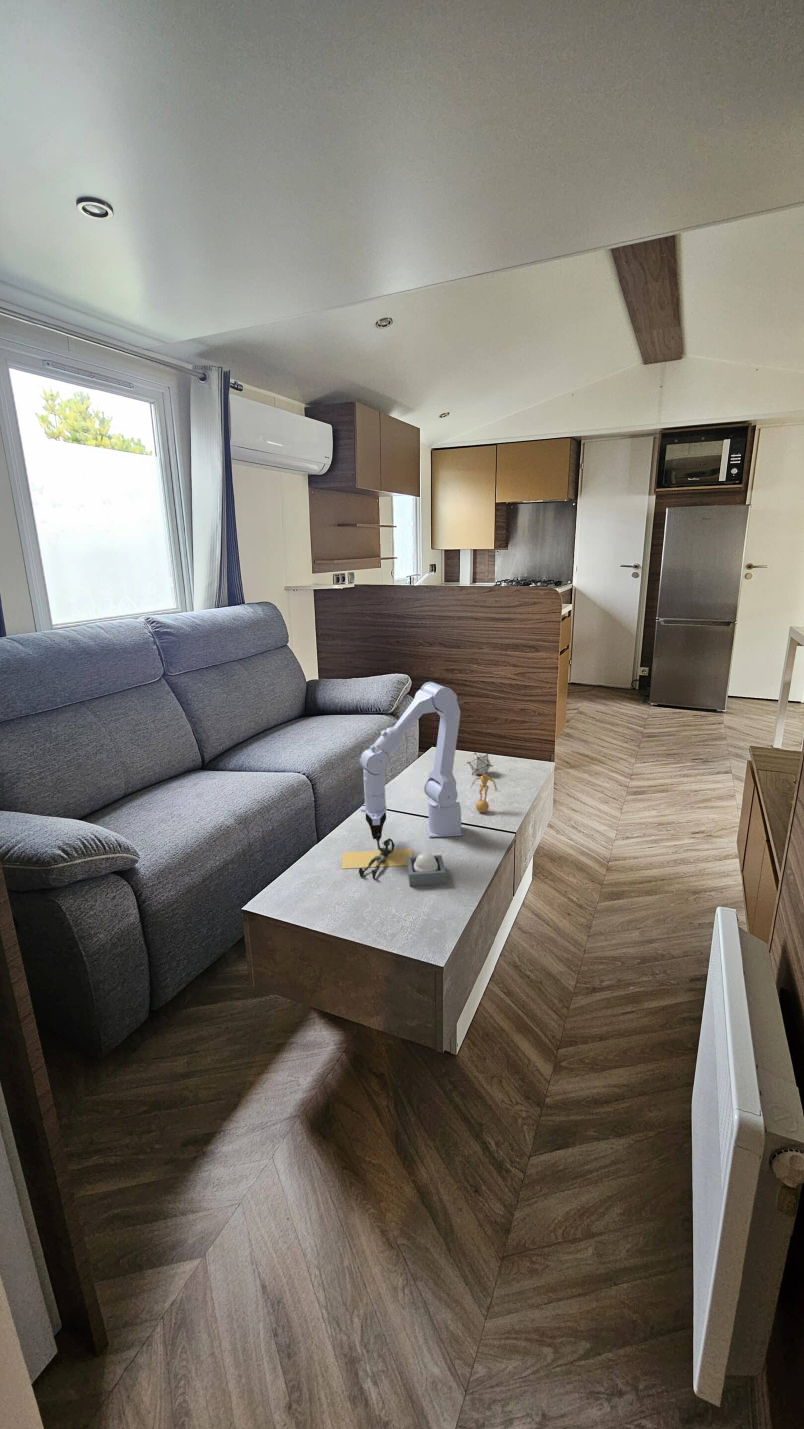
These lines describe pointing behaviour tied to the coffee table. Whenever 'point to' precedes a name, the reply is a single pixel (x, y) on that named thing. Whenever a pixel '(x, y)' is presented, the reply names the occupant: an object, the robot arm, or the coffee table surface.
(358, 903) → the coffee table surface
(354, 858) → the yellow rectangular panel
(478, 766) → the grey spiky lattice polyhedron
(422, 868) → the popper dome
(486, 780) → the figurine
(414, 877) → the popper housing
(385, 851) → the zombie figurine
